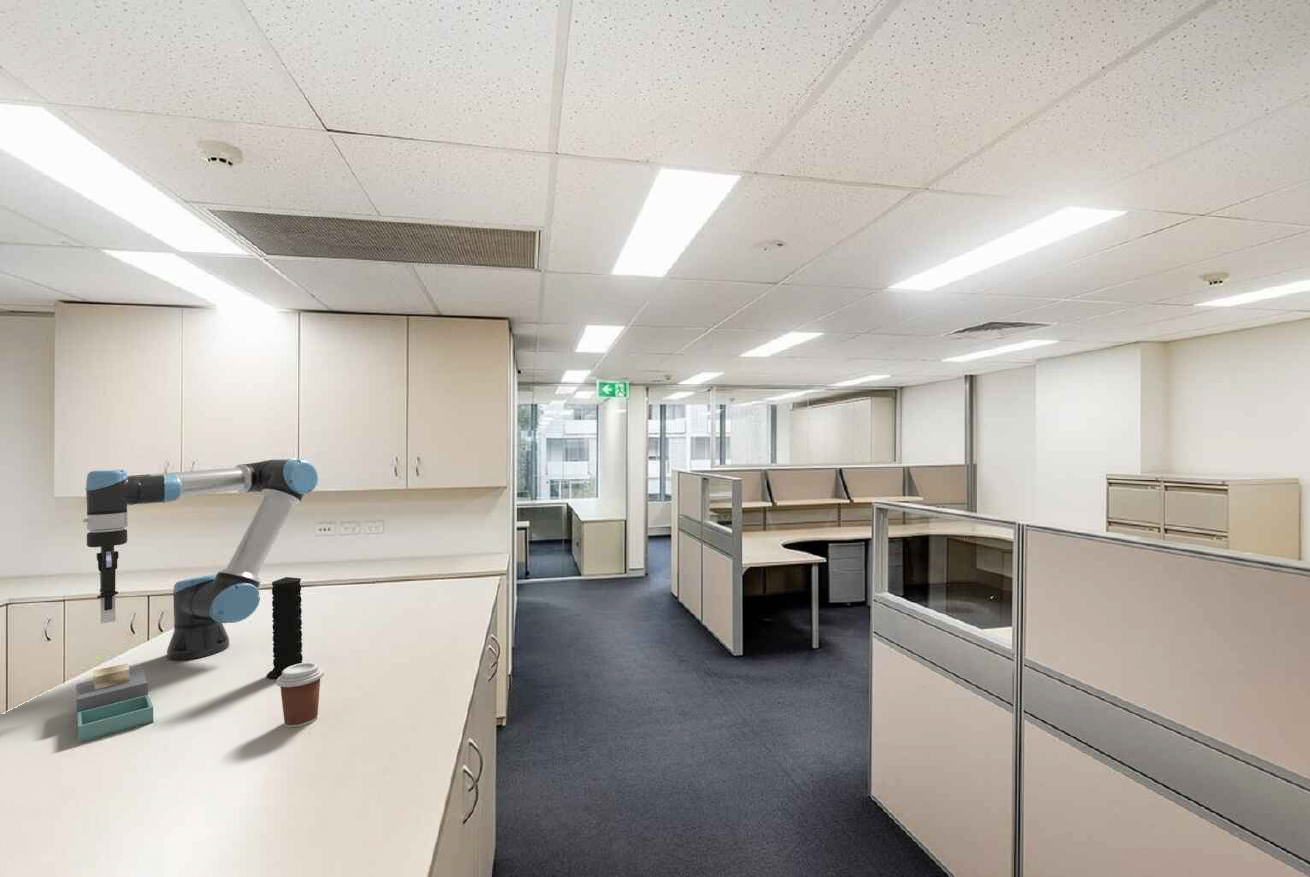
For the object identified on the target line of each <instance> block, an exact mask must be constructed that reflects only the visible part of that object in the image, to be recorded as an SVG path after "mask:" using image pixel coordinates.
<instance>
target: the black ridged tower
mask: <svg viewBox="0 0 1310 877" xmlns="http://www.w3.org/2000/svg"><path fill="white" fill-rule="evenodd" d="M301 580H302V578H300V577H292V576H290V577H289V576H285V577H282V578H280V579H276V580H274V581H272V582H271V585H272V586H271V587H272V588H271V594H272V597H271V599H272V602H271V605H272V609H271V610H272V613H271V614H272V615H271V616H272V634H273V636H272V642H273V643H272V646H273V647H272V653H273V656H272V657H273V661H272V665H273V668H272V670H270V671H268V673H267V674H266V676H265V677H266V679H268V680H276V679H278V678H279V677H280V676H281V675H282V671H283V670H284V669H285V668H287V667H289V666H292V665H295V664H300V663H304V662H303V649H302V648H303V643H302V641H303V638H302V636H303V631H302V629H303V627H302V624H303V621H302V612H303V611H302V606H303V605H302V596H301V595H302V592H301V591H302V584H301Z"/></svg>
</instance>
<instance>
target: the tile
mask: <svg viewBox="0 0 1310 877" xmlns="http://www.w3.org/2000/svg"><path fill="white" fill-rule="evenodd" d="M129 672H130V668H129V665H128V663H123V664H122V663H121V664H118V665H114V666H108V667H103V668H99V669H95V670H93V680H94V686H95V690H96V689H100V688H104V687H109V686H113V685H117V684H121V683H126V682H129Z"/></svg>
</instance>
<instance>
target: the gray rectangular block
mask: <svg viewBox="0 0 1310 877" xmlns="http://www.w3.org/2000/svg"><path fill="white" fill-rule="evenodd" d="M75 686H76V687H75V688H76V691H75V692H76V693H75V694H76V695H75V696H76V697H75V698H76V699H75V700H76V701H75V702H76V723H77V726H78V712H82V711H86V710H90V709H94V708H98V707H102V706H106V705H110V704H114V703H118V702H122V701H125V700H129V699H133V698H137V697H141V696H145V695H149V682H148V680H147V676H146V674H145V672H144V670H143V668H141V669H136V670H134V671H129V682H126V683H121V684H117V685H113V686H109V687H104V688H100V689H96V690H95V686H94V679H93V680H89V681H84V682H80V683H76V685H75Z"/></svg>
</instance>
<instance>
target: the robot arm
mask: <svg viewBox="0 0 1310 877" xmlns="http://www.w3.org/2000/svg"><path fill="white" fill-rule="evenodd" d="M318 481H319V474H318V472H317V469H316V466H315V465H314V464H313V463H312V462H310V461H309V460H305V459H302V458H301V459H298V458H291V459H290V458H288V459H268V460H262V461H257V462H251V463H243V464H242V463H241V464H237V465H236V466H235V467H229V468H215V469H204V470H203V469H202V470H201V469H200V470H190V471H177V472H175V471H173V472H163V473H162V472H161V473H147V474H138V475H137V474H136V475H128V473H127V471H126V470H125V469H113V470H111V469H109V470H108V469H107V470H92V471H90V472H89V473H88V474H87V477H86V482H85V493H86V518H83V520H82V522H83V523H87V524H86V529H87V531H90V532H87V534H86V546H87V547H88V548H100V552H97V553H96V560H97V568H98V571H99V573H100V574H99V579H100V582H99V584H100V589H99V593H100V594H99V595H97V599H100V624H108V623H113V622H116V595H118V594H119V591H117V590H116V571H117V569H118V560H119V556H120V555H119V551H118V550H115V546H120V545H121V546H122V545H125V544H127V543H128V530H127V529H126V528H127V527H128V522H129V521H128V506H135V505H146V504H147V505H149V504H158V503H163V504H165V503H167V502H175V501H178V499H180V497H181V498H182V497H187V496H188V497H189V496H199V495H209V494H218V493H227V492H236V491H237V492H238V493H241V494H244V493H245V494H246V493H261V494H262V496H263V498H262V501H261V503H260V504H259V506H258V507H257V510H256V512H255V514H254V516H253V517H252V519H251V521H250V523H249V525H248V527H247V529H246V531H245V532H244V535H243V537H242V538H241V540H240V542H239V544H238V546H237V547H236V550H235V552H234V553H233V555H232V557H231V559H230V561H229V562H228V564H227V567H226V568H224V569H222V570H219V571H218V572H217V574H215V573H214V574H210V575H208V574H207V575H202V576H197V577H193V578H192V577H191V578H186V579H183V580H179V581H177V582H175V584H174V586H173V592H172V596H173V627H174V628H173V633H172V636H171V638H170V641H169V644H168V646H167V649H166V658H167V659H168V660H171V661H183V660H185V661H186V660H193V659H198V658H203V657H207V656H211V655H214V654H216V653H220V652H222V651H225V650H226V649H228V648H229V647H230V637H229V635H228V633H227V631H226V628H225V626H224V624H228V623H229V624H234V623H235V624H236V623H239V622H242V621H243V620H246V619H247V618H249V617H250V616H251V615H253V614H254V613H255V611H257V610H256V609H258V606H259V604H260V601H261V595H260V591H259V589H258V588H259V587H260V584H261V580H260V579H259V574H260V572H261V570H262V569H263V566H264V565H265V563H266V560H267V559H268V557H269V554H270V552H271V551H272V548H273V546H274V544H275V542H276V540H277V538H278V536H279V535H280V532H281V530H282V528H283V526H284V525H285V523H286V520H287V518H288V516H289V514H290V512H291V510H292V508H293V507H294V506H296V505H298V504H300V503H301V501H302V499H303V497H304V496H305V494H309V493H311V492H313V491H314V489H315V488H316V486H318Z"/></svg>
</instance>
